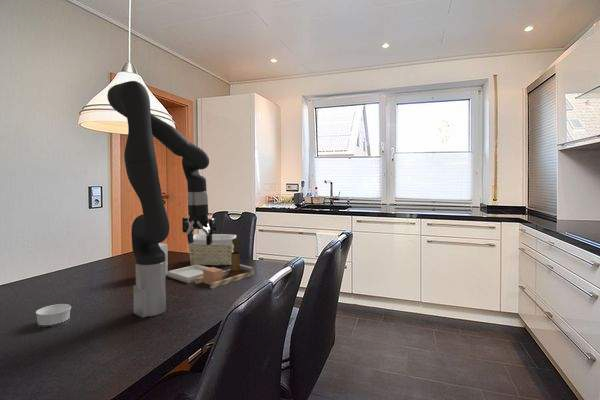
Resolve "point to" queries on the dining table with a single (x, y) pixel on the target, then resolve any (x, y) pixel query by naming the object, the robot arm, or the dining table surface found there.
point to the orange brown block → (212, 275)
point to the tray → (187, 273)
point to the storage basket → (211, 249)
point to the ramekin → (53, 314)
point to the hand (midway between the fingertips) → (200, 243)
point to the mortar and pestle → (235, 260)
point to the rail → (245, 269)
